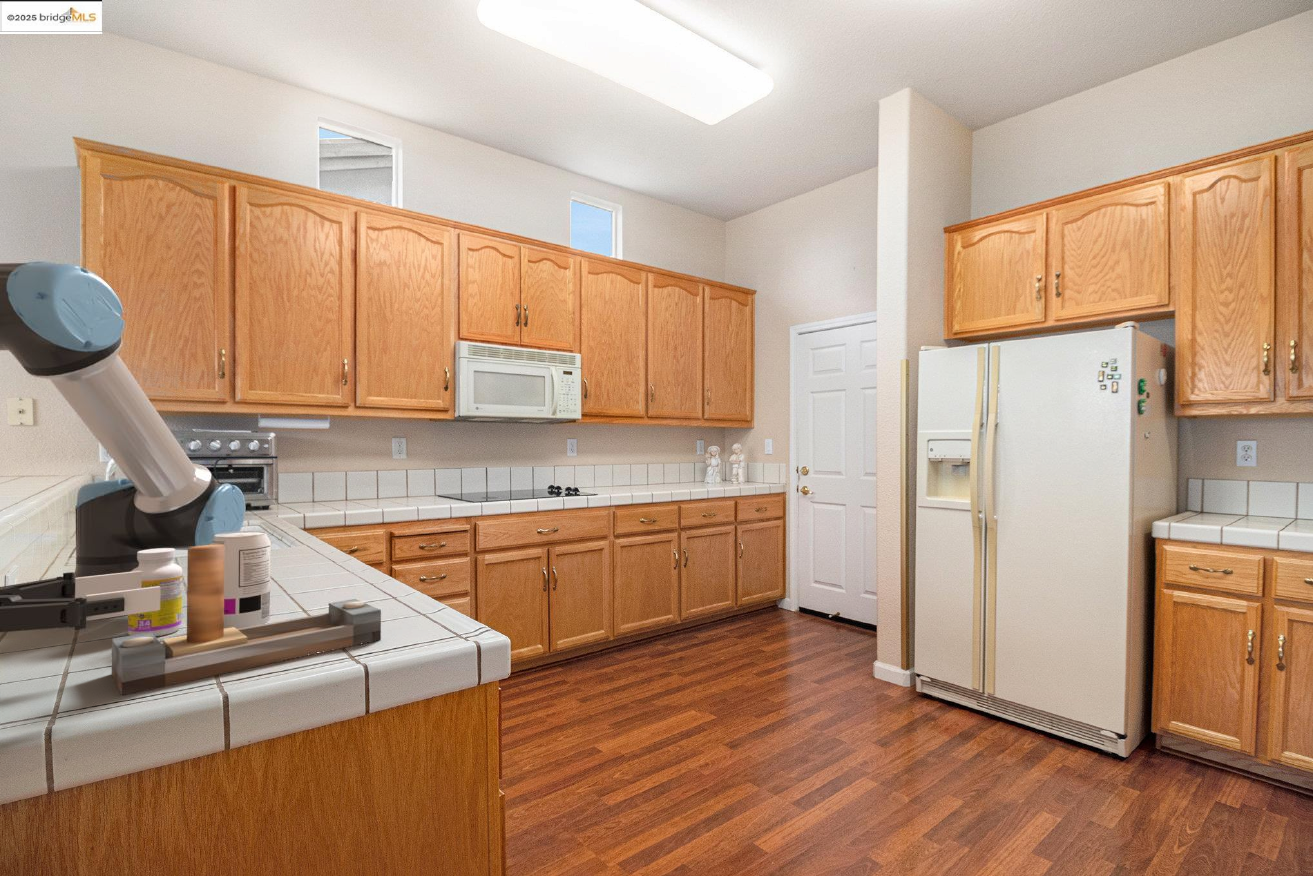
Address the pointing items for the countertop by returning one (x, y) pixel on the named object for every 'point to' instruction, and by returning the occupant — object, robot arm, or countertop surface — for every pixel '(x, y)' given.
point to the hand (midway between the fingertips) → (150, 589)
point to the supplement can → (245, 578)
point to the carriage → (204, 606)
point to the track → (244, 647)
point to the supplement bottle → (169, 578)
